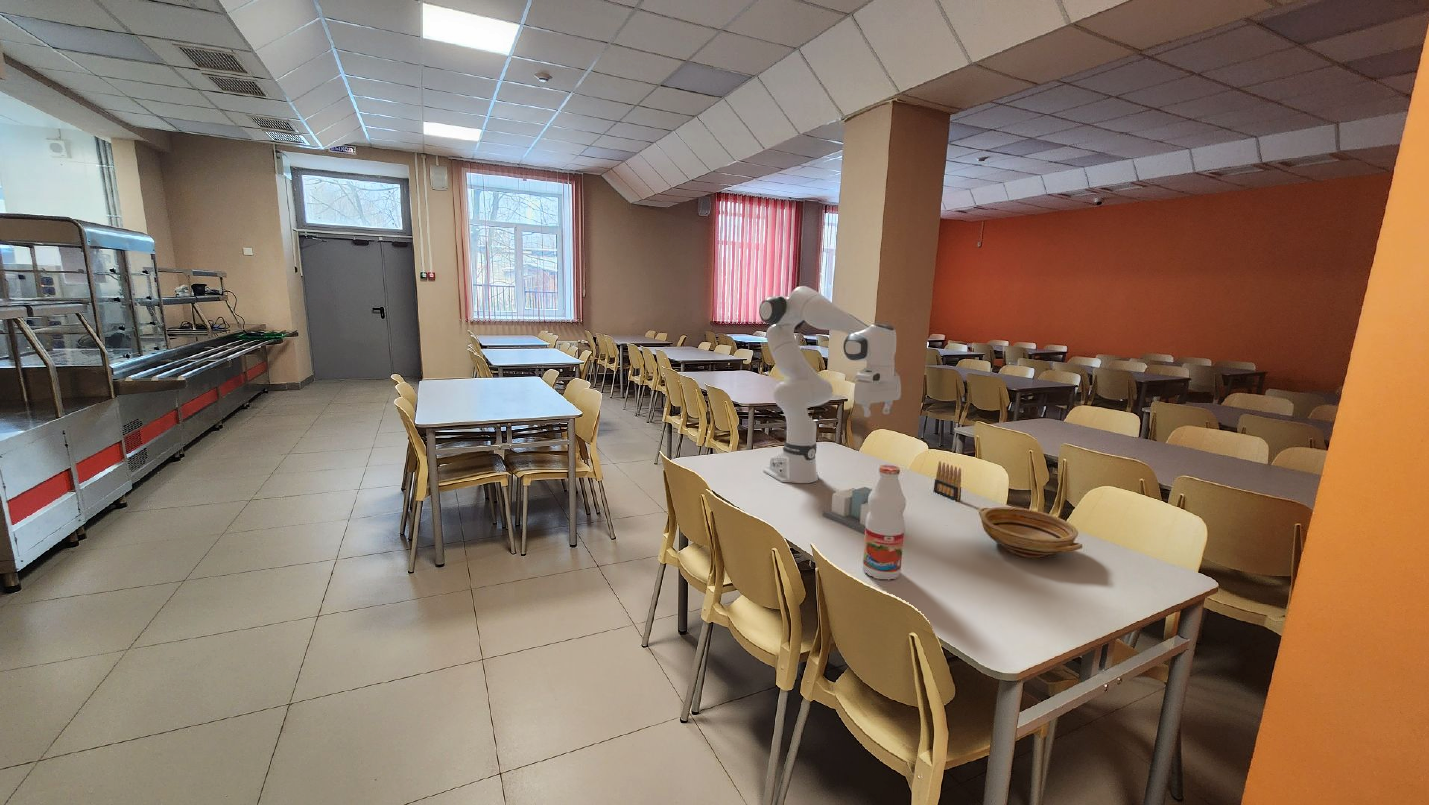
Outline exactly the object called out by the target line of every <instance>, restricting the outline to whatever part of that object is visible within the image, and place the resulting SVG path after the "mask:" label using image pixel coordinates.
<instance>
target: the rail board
mask: <svg viewBox="0 0 1429 805" xmlns="http://www.w3.org/2000/svg"><path fill="white" fill-rule="evenodd" d="M856 489H857V488H854V487H853V488H849V489H845V490H841V491H837V492H834V493H832V499H831V508H830V509H825V510H823V511H822V516H823V517H825V518H828V519H829V520H832V521H835V522H837V523H839V524H842V525H845V526H846V527H849V528H851V529H853V530H855V531H858V532H861V533H862V532H863V534H865V524H866V517H867V514H868V512H869V506H868V503H865V504H862V505H861V516H860V518H858V517H856V516H853V515H851V507H852V492H853V490H856Z"/></svg>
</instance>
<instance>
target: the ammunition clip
mask: <svg viewBox="0 0 1429 805" xmlns="http://www.w3.org/2000/svg"><path fill="white" fill-rule="evenodd" d="M935 474H936V476H935V479H934V484H933V493H934V492H935V493H934V494H936V493H937V495H939V494H940V495H939V496H941V495H942V496H941V497H944V498H946V497H947V499H949V500H950V501H954V500H955V501H954V502H957V503H958V502H960V501H961V500H962V499H961V497H962V487H961V486H962V469H961V467H959V468H957V466H953V464H951V465H949V463H945V462H941V460H939V462H938V464H937V471H936V473H935Z"/></svg>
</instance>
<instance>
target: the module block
mask: <svg viewBox="0 0 1429 805" xmlns="http://www.w3.org/2000/svg"><path fill="white" fill-rule="evenodd" d="M855 489H856V490H853V492H852V507H851V515H853V516H856V517H858V518H860V516H861V505H862V504H865V503H868V497H869V494H870V492H871V491H872V490H873V488H870V487H867V486H863V487H860V488H855Z"/></svg>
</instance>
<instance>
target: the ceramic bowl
mask: <svg viewBox="0 0 1429 805" xmlns="http://www.w3.org/2000/svg"><path fill="white" fill-rule="evenodd" d="M978 515H979V517H980V519H981V526H982V528H983V531H984V532H985V533H986V534H987V536H989V538H991V539H992V540H993V541H995V542H996V543H998V544H1000V545H1002V547H1003V548H1004V549H1005V550H1006V551H1008V552H1010V553H1013V554H1016V555H1019V556H1023V557H1027V558H1043V557H1045V556H1047V555H1053V554H1054V555H1055V554H1059V553H1062V552H1074V551H1078V550H1081V549H1082V548H1083V543H1081V542H1075V540H1076V538H1078V536H1079V531H1078V529H1077V528H1076V527H1075V526H1074V525H1073V524H1071V523H1070V522H1068V521H1066V520H1065V519H1063V518H1060V517H1057V516H1056V515H1053V514H1049V513H1046V512H1042V511H1039V510H1034V509H1028V508H1025V507H1024V508H1023V507H1013V506H1012V507H1011V506H998V507H997V506H996V507H982V508H980V509H979V510H978Z"/></svg>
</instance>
